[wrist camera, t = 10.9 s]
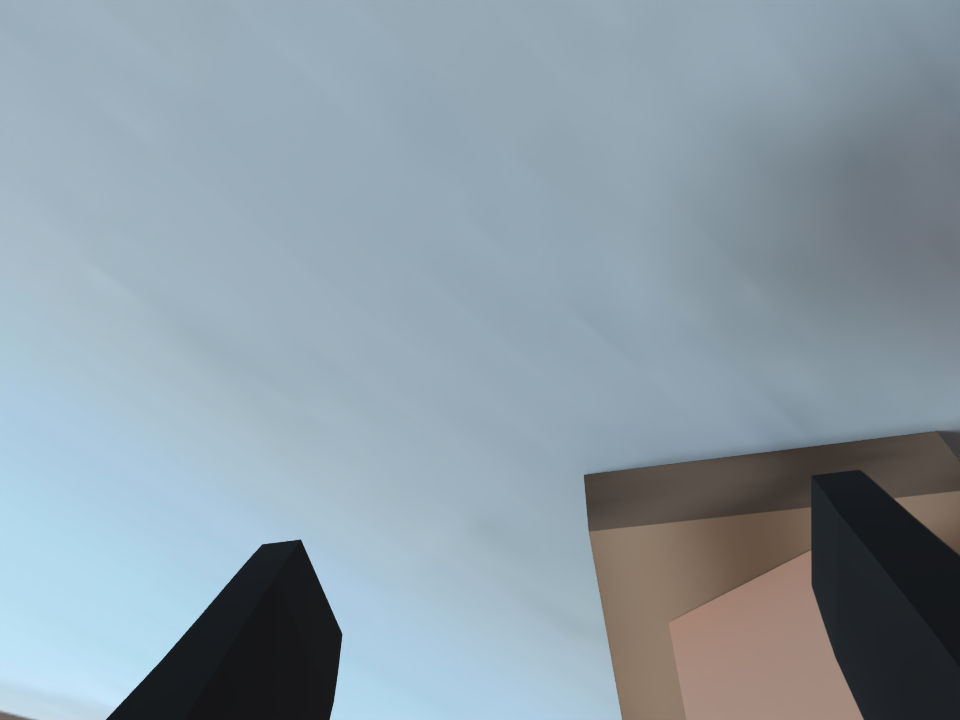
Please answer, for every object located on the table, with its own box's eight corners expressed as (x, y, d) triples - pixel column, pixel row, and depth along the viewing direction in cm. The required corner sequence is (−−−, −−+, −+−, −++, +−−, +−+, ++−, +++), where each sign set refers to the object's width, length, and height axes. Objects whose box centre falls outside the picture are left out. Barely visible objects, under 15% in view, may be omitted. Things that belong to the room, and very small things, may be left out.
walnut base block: (929, 421, 22) (981, 488, 20) (906, 653, 27) (945, 731, 25) (583, 463, 24) (588, 531, 21) (619, 676, 29) (628, 752, 26)
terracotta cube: (822, 543, 21) (896, 708, 17) (911, 643, 23) (999, 817, 18) (668, 622, 23) (698, 788, 19) (761, 709, 25) (808, 879, 20)
